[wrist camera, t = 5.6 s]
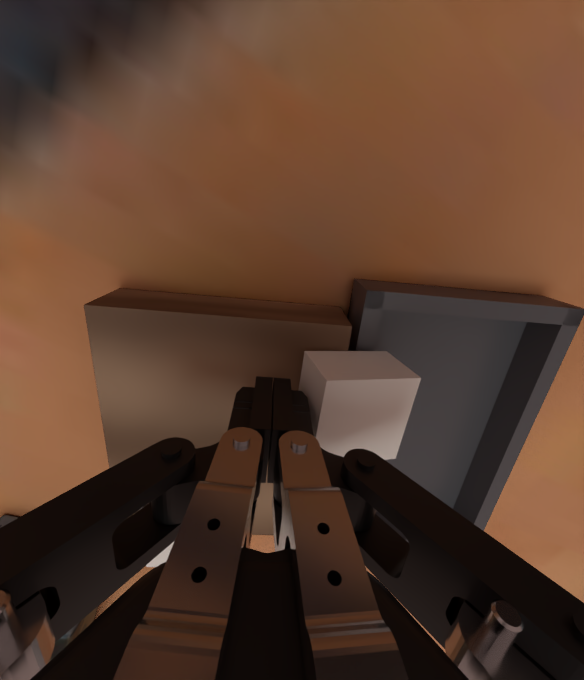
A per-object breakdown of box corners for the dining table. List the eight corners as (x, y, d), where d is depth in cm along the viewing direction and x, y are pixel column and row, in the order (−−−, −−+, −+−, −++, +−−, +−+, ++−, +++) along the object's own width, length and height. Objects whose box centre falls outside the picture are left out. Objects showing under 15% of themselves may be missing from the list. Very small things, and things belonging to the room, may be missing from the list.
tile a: (304, 350, 13) (326, 380, 11) (386, 351, 14) (421, 378, 12) (292, 428, 15) (309, 469, 12) (367, 422, 16) (395, 458, 14)
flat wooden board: (119, 288, 15) (83, 304, 13) (339, 306, 16) (352, 326, 13) (141, 486, 20) (119, 530, 17) (310, 493, 21) (314, 536, 18)
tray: (354, 278, 16) (367, 290, 13) (542, 295, 16) (586, 309, 14) (314, 510, 21) (318, 545, 19) (454, 515, 22) (474, 550, 20)
